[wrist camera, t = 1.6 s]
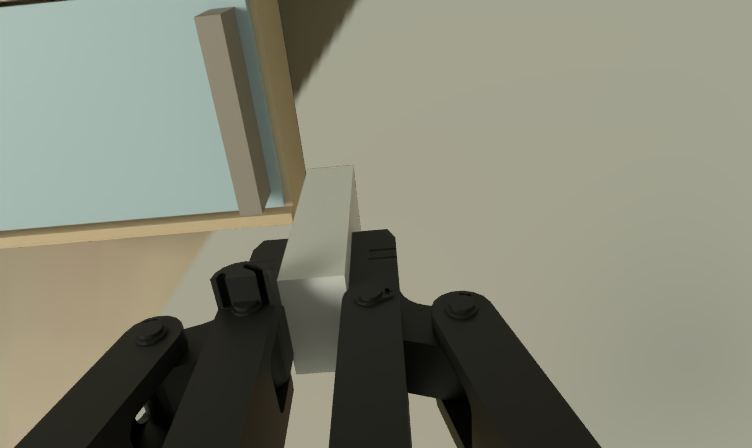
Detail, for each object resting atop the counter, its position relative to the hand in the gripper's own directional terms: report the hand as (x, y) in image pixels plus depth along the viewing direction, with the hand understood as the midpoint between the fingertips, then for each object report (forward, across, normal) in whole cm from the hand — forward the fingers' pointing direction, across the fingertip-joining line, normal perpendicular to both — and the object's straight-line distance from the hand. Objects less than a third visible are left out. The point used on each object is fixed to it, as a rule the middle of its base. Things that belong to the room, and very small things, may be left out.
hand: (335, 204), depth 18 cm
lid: (+13, -14, 0) cm, 19 cm away
